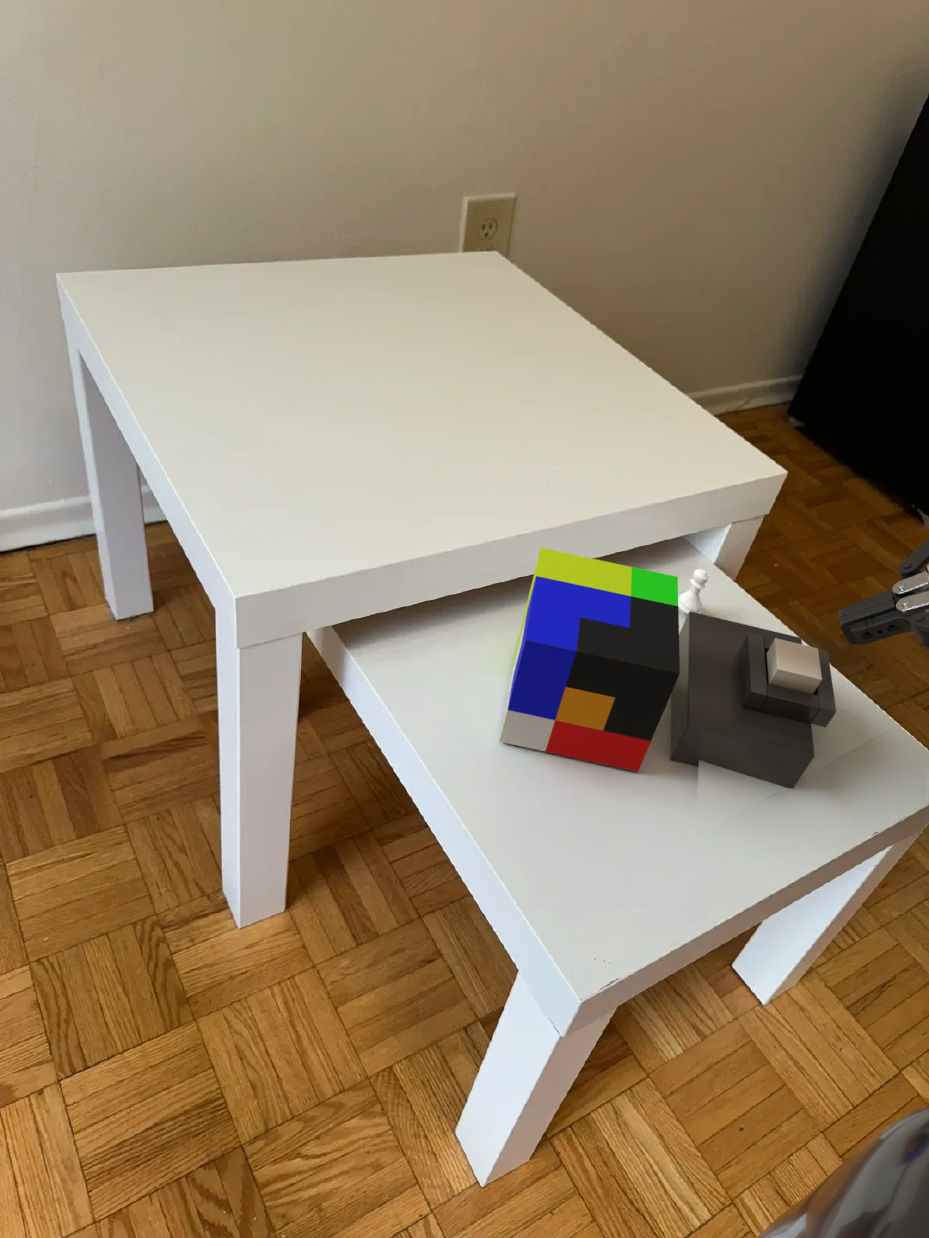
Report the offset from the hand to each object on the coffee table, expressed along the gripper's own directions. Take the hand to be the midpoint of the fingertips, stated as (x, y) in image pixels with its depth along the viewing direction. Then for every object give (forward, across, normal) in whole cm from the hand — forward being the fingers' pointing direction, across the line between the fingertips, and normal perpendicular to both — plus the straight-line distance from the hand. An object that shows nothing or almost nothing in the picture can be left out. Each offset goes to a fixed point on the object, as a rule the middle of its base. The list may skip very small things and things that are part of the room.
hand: (844, 628), depth 64 cm
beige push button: (+5, 0, +3) cm, 6 cm away
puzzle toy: (+19, +3, -4) cm, 20 cm away
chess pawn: (+13, -11, +2) cm, 18 cm away
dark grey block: (+11, 0, +5) cm, 12 cm away
